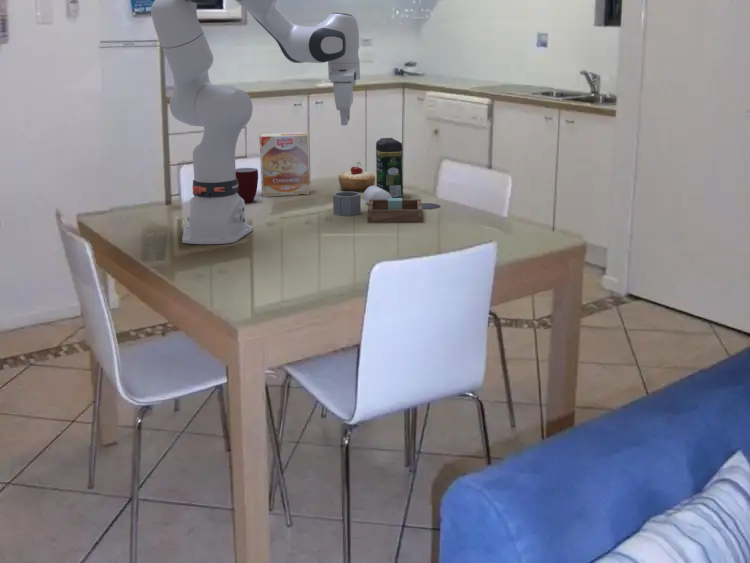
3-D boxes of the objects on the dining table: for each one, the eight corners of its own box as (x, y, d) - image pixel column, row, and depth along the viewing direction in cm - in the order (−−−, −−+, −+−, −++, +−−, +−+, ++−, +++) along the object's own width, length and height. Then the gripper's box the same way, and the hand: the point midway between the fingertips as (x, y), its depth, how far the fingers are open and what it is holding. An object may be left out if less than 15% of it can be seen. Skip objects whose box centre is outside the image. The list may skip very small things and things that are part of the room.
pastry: (334, 192, 301) (333, 165, 299) (345, 185, 312) (344, 159, 310) (369, 193, 298) (368, 166, 296) (379, 187, 309) (378, 160, 307)
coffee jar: (374, 194, 296) (373, 136, 291) (397, 193, 298) (397, 135, 293) (380, 200, 287) (380, 140, 282) (405, 198, 289) (405, 139, 283)
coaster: (441, 211, 270) (441, 209, 270) (410, 211, 271) (410, 209, 271) (439, 205, 279) (439, 203, 279) (410, 205, 279) (410, 203, 279)
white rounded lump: (395, 204, 273) (386, 187, 271) (378, 214, 273) (369, 197, 270) (385, 198, 282) (377, 182, 279) (369, 208, 281) (360, 191, 278)
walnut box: (422, 224, 254) (422, 210, 253) (367, 224, 255) (367, 210, 254) (421, 212, 269) (421, 199, 268) (369, 213, 269) (369, 199, 268)
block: (402, 218, 260) (402, 200, 258) (387, 218, 260) (387, 200, 258) (402, 215, 263) (402, 197, 262) (388, 215, 264) (388, 197, 262)
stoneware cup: (360, 217, 264) (359, 196, 262) (333, 217, 264) (332, 196, 263) (361, 211, 272) (360, 191, 270) (334, 211, 272) (334, 191, 270)
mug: (221, 203, 286) (219, 171, 283) (233, 198, 293) (231, 167, 290) (252, 204, 283) (251, 172, 280) (263, 199, 290) (261, 168, 287)
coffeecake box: (263, 197, 294) (260, 136, 289) (261, 193, 301) (258, 133, 295) (309, 194, 297) (307, 134, 292) (306, 190, 304) (304, 131, 299)
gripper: (335, 70, 266) (336, 118, 270) (330, 76, 247) (331, 127, 251) (357, 70, 266) (358, 118, 270) (353, 75, 247) (354, 127, 251)
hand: (345, 123), depth 260 cm, fingers open, 8 cm apart
